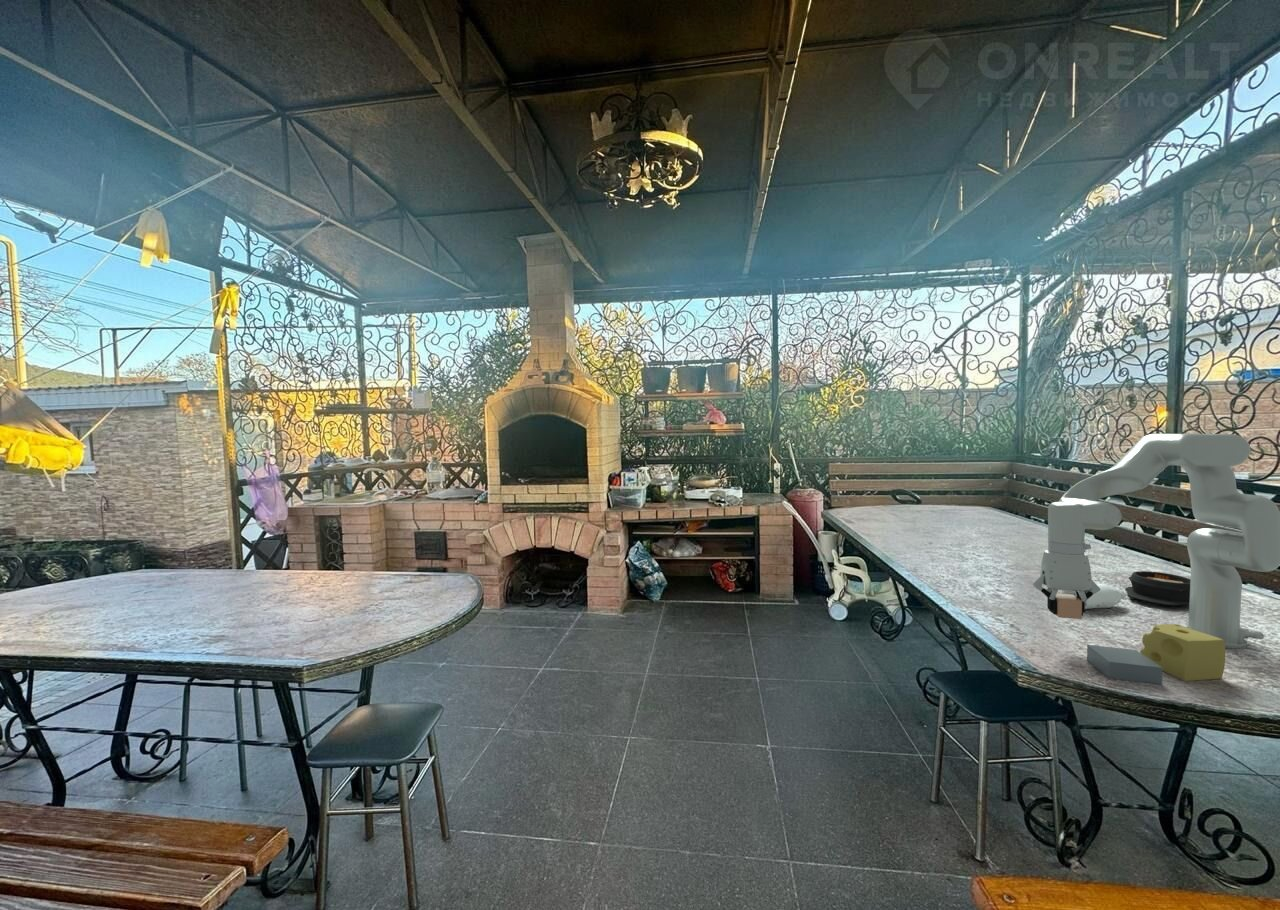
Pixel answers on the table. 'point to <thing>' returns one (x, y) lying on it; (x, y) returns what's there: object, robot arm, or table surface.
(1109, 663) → the pedestal
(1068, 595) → the cube
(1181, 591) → the casserole
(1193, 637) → the cheese
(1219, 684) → the table surface
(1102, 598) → the white hollow cylinder
